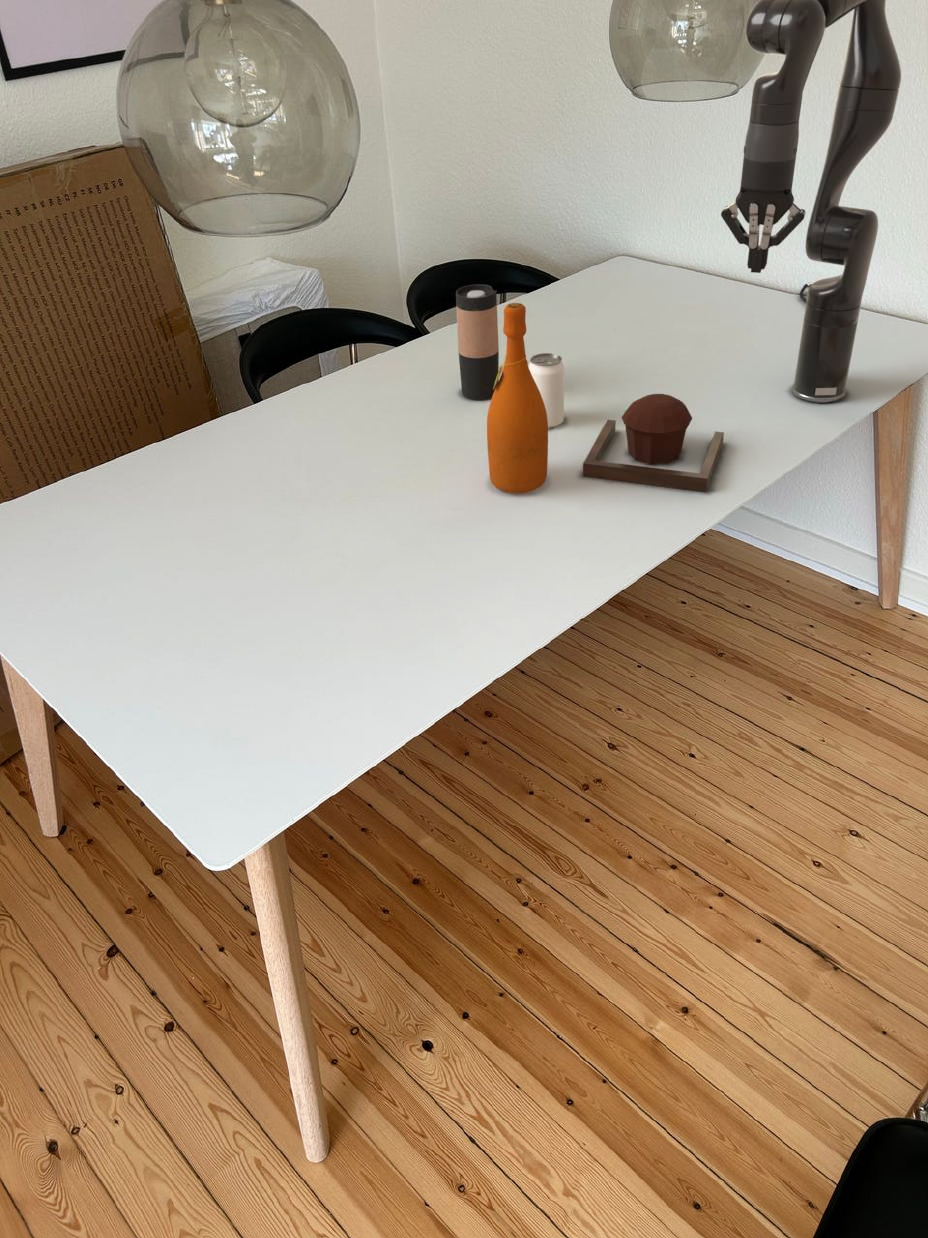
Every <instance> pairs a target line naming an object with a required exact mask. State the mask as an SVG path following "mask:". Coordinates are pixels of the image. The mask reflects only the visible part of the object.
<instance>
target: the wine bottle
mask: <svg viewBox="0 0 928 1238" xmlns="http://www.w3.org/2000/svg"><path fill="white" fill-rule="evenodd" d="M526 312H527V308H526V306H525V305H524V304H522V303H520V302H511V303H508V304H507V305H505V306H504V309H503V328H502V332H503V334H504V335H505V337H506V349H505V351H506V352H505V353H506V354H505V359H504V363H503V365H500V366H499V368H498V375H497V378H496V381H495V384H494V387H495V385H496V383H497V381H498V379H499V382H498V384H497V386H496V389H495V391H494V393H493V396H492V398H491V399H490V403H489V407H488V410H487V416H486V443H487V445H486V446H487V459H488V460H487V461H488V473H489V479H490V482H491V484H492V485H493V486H494V488H496V489H497V490H500V491H502V492H505V493H508V494H526V493H531V492H534V491H536V490H538V489H540V488H541V487H542V486H544V484H545V482H546V480H547V479H548V478H547V476H548V463H549V462H548V460H549V428H548V419H547V412H546V408H545V405H544V401H543V399H542V396H541V394H540V391H539V389H538V387H537V385H536V383H535V381H534V379H533V377H532V374H531V372H530V370H529V367H528V366H529V362H528V360H527V354H526V346H525V339H524V336H525V335H526V333H527V324H526V323H527V321H526V314H527V313H526ZM493 390H494V388H493Z"/></svg>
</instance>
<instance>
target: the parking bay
mask: <svg viewBox="0 0 928 1238" xmlns="http://www.w3.org/2000/svg"><path fill="white" fill-rule="evenodd" d="M616 423H617V420H615V419H607V420H606V422H605V423H604V424H603V427H602V429H601V430H600V432H599V434H598V436H597V438H596V439H595V441H594V443H593V445H592V447H591V449H590V450H589V452H588V453H587V455H586V457H585V459H584V461H583V463H582V477H584V478H590V479H591V478H592V479H600V480H606V481H615V482H620V483H621V482H623V483H631V484H637V485H638V484H639V485H646V486H653V487H661V488H669V489H678V490H683V491H693V492H701V493H707V492H708V488H709V486H710V483H711V480H712V477H713V474H714V472H715V468H716V465H717V463H718V459H719V456H720V454H721V451H722V449H723V445H724V438H725V432H724V431H715V430H714V434H713V436H712V439H711V442H710V445H709V448H708V449H707V452H706V456H705V458H704V461H703V464H702V466H701V469H700V472H693V471H692V472H691V471H685V470H677V469H676V470H675V469H669V468H668V469H667V468H659V467H651V466H645V465H634V464H626V463H619V462H609V461H602V460H603V457H604V455H605V453H606V451H607V449H608V448H609V446H610V444H611V442H612V441H613V439H614V436H615V435H616V426H617V425H616Z"/></svg>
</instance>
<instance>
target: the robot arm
mask: <svg viewBox="0 0 928 1238" xmlns="http://www.w3.org/2000/svg"><path fill="white" fill-rule="evenodd" d="M851 12H852V17H851V23H850V30H849V35H848V41H847V46H846V51H845V57H844V61H843V62H844V63H843V66H842V71H841V75H840V79H839V84H838V88H837V94H836V100H835V104H834V108H833V116H832V122H831V127H830V132H829V133H830V134H829V138H828V139H829V140H828V146H827V150H826V155H825V160H824V165H823V168H822V174H821V177H820V180H819V184H818V188H817V192H816V195H815V199H814V202H813V205H812V206H813V207H812V210H811V214H810V219H809V221H808V225H807V230H806V236H805V254H806V257H807V258H808V259H809V260H811V261H813V262H819V263H826V264H831V265H838V266H843V271H842V274H839V275H836V276H831V277H827V278H821V279H818V280H816V281H814V282H812V283H811V284H810V285H809V286H808V285H807V284H806V283H805V284H804V285H803V287H802V288H801V289H800V292H799V298H800V299H801V300H802V301H803V302H804V303H805V309H804V313H803V314H804V315H803V322H802V328H801V334H800V342H799V347H798V348H799V349H798V355H797V362H796V369H795V375H794V379H793V380H794V381H793V383H792V384H793V385H792V393H793V395H794V396H795V397H796V398H798V399H801V400H803V401H807V402H812V403H821V404H823V403H825V404H826V403H834V402H838V401H840V400H842V399H843V398H844V397H845V395H846V390H847V389H846V388H847V382H848V376H849V371H850V366H851V361H852V355H853V351H854V345H855V339H856V333H857V329H858V322H859V318H860V317H859V316H860V312H861V311H860V310H861V306H862V300H863V295H864V293H865V287H866V284H867V280H868V275H869V270H870V265H871V261H872V257H873V253H874V249H875V245H876V240H877V236H878V231H879V230H878V229H879V218H878V215H877V213H876V212H875V211H873V210H871V209H867V208H866V209H865V208H859V207H850V206H842V205H840V201H841V198H842V195H843V192H844V189H845V187H846V184H847V182H848V180H849V178H850V177H851V175H852V173H853V172H854V171H855V169H856V168H857V167H858V165H859V164H860V163H861V161H863V159H864V158H865V157H866V156H867V155H868V153H869V152H870V151H871V150H872V149H873V147H874V146H876V144H877V143H878V142H879V141H880V139H881V138H882V137H883V136H884V134H886V132H887V130H888V128H890V125H891V124H892V121H893V117H894V114H895V110H896V105H897V101H898V96H899V93H900V92H899V91H900V88H901V83H902V70H901V69H902V68H901V64H900V59H899V56H898V52H897V49H896V47H895V43H894V40H893V37H892V34H891V31H890V28H889V23H888V16H887V0H758V1H757V2H756V3H755V4H754V6H753V7H752V9H751V11H750V12H749V15H748V17H747V18H746V19H747V20H746V23H745V38H746V41H747V43H748V45H749V46H750V47H751V49H752V50H753V51H755V52H756V53H760V54H764V55H776V56H785V57H784V61H783V63H782V65H781V67H780V69H779V71H775V72H769V73H765V74H762V75H760V76H758V77H757V78H756V79H755V80H754V82H753V86H752V90H751V91H752V92H751V102H750V104H751V105H750V110H749V120H748V126H747V130H746V135H745V140H744V146H743V158H742V159H743V160H742V169H741V179H740V189H739V191H738V193H737V195H736V197H735V201H734V202H732V203H731V204H730V205H726V206H724V207H723V209H722V210H721V212H720V216H721V218H722V220H723V221H724V223H725V224H726V226H727V227H728V229H729V230H730V232H731V234H732V236H734V238H735V241H737V242H738V244H740V245H745V246H747V247H748V256H747V265H746V266H747V269H750V273H752V274H753V273H756V274H761V273H762V270H765V269H766V266H767V265H768V257H769V249H770V248H772V247H777V246H780V244H782V242H784V240H785V239H786V238H787V237H788V236H789V235H791V233H792V232H793V231H794V230H795V229H796V228H797V227H799V225H800V224H801V223H802V222H803V220H804V219H805V216H806V210H805V209H804V208H799V206H797V205H796V204H795V203H794V202H795V198H794V195H793V182H794V176H795V169H796V161H797V153H798V145H799V138H800V116H801V109H802V103H803V102H802V100H803V94H804V89H805V87H806V83H807V80H808V77H809V75H810V71H811V69H812V66H813V63H814V61H815V57H816V55H817V53H818V51H819V48H820V46H821V43H822V40H823V37H824V34H825V30H826V29H827V28H829V27H831V26H832V25H834V24H835V23H837V22H839V21H840V19H842V18H843V17H845V16H847V15H848V14H849V13H851ZM738 210H739V211H738ZM788 211H789V213H788ZM739 212H740V214H741V215H742V217H743V219H744V220H745V222H746V223H747V224H748V233H747V231H746V229H745V227H744V226H743V225H742V223H741V222H740V220H739V218H738V216H739ZM786 213H788V215H787V218H786V219H787V222H786V223H785V224H784V225H783V226H782V227H781V228H780V229H779V230H778V232H776V233H775V234H774V235H772V233H773V228H774V225H776V224H778V222H779V221H780V220H782V218H783V217H784V216H785V215H786ZM761 226H762V231H761V232H762V234H761V238H760V227H761ZM759 243H760V244H759ZM807 288H808V290H807V295H806V297H805V296H804V292H805V291H806V289H807Z"/></svg>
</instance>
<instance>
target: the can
mask: <svg viewBox="0 0 928 1238" xmlns="http://www.w3.org/2000/svg"><path fill="white" fill-rule="evenodd" d="M529 361H530V362H529V363H528V367H529V370H530V372H531V374H532V377H533V379H534V381H535V383H536V385H537V387H538V389H539V391H540V394H541V396H542V399H543V401H544V405H545V408H546V412H547V419H548V429H554V428H557V427H558V426H560V425H562V423H563V422H564V420H565V419H564V417H565V367H564V366H565V365H564V363H563V358H562V356H561V355H559V354H556V353H551V352H543V353H537V354H534V355H532V356H531V357H530V359H529Z"/></svg>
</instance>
